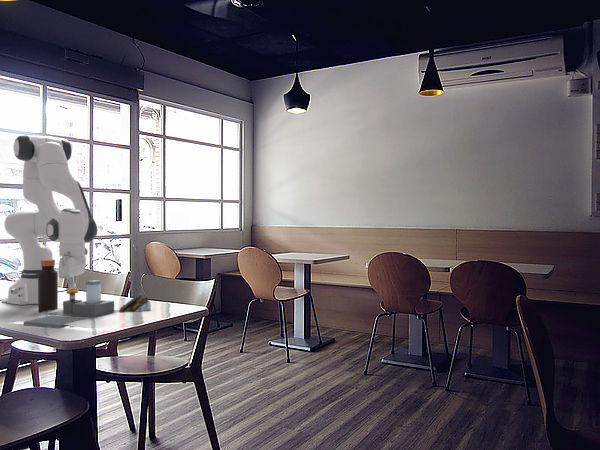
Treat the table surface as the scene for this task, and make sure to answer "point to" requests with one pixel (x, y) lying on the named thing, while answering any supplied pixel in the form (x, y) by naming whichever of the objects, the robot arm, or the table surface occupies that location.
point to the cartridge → (93, 291)
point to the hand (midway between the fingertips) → (72, 288)
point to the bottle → (47, 286)
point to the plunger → (72, 293)
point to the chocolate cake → (136, 304)
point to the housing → (86, 309)
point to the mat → (52, 321)
